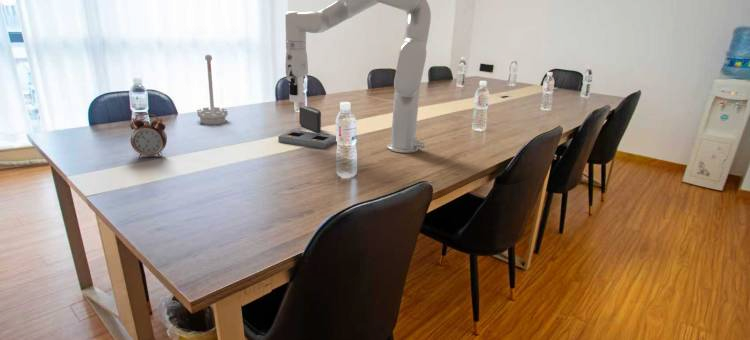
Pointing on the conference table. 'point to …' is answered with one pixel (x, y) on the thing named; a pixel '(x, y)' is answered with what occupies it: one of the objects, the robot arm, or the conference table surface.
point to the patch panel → (307, 139)
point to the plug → (300, 95)
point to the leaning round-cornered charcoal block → (310, 118)
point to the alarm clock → (148, 136)
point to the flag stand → (211, 103)
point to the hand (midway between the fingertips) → (296, 93)
